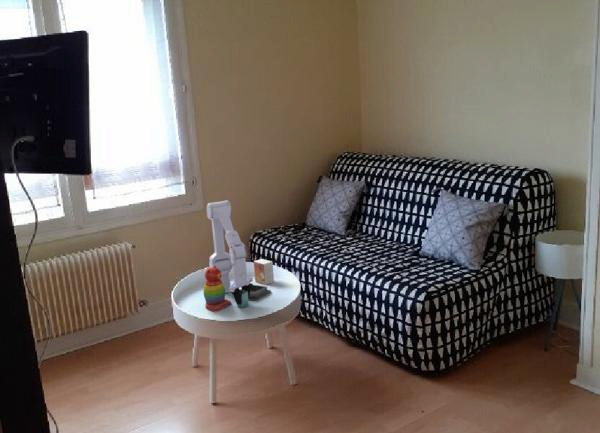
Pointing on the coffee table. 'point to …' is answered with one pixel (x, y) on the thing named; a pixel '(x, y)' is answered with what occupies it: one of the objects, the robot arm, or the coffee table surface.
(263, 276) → the small box
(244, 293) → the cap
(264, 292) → the socket
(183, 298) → the coffee table surface
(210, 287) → the stacking bear
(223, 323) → the coffee table surface
